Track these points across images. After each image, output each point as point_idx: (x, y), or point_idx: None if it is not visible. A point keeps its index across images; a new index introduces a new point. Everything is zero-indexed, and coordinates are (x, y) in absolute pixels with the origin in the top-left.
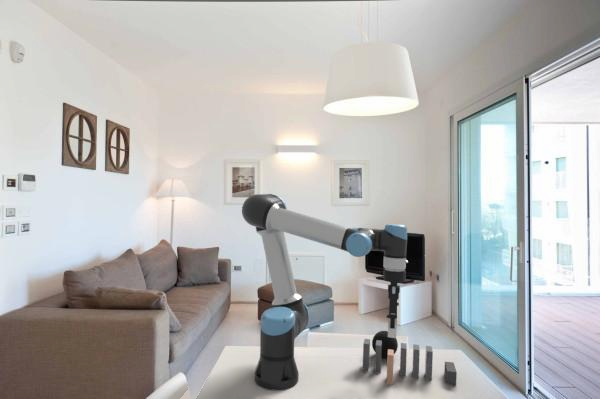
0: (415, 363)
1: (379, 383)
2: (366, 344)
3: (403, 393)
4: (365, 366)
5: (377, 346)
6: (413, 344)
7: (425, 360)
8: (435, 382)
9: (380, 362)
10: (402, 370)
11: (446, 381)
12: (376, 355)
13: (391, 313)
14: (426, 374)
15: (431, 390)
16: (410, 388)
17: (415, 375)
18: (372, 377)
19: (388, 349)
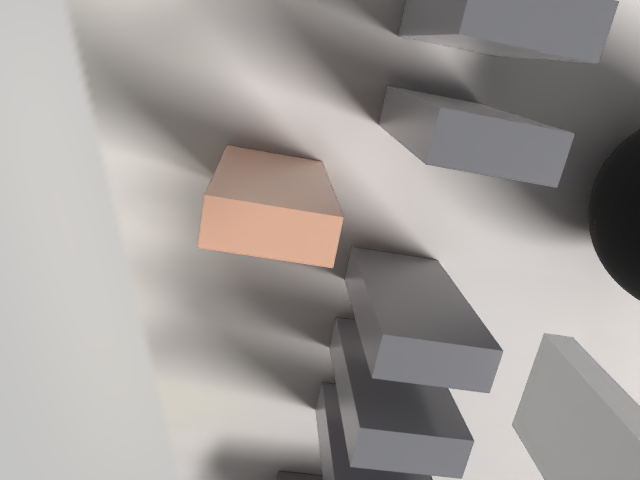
0: (343, 377)
1: (225, 96)
2: (463, 5)
3: (120, 230)
4: (409, 12)
5: (433, 124)
6: (469, 441)
7: None
8: (289, 422)
9: (393, 133)
10: (353, 274)
11: (298, 476)
12: (413, 106)
13: (619, 477)
14: (323, 401)
15: (190, 385)
16: (192, 280)
17: (333, 338)
18: (308, 57)
19: (337, 221)
